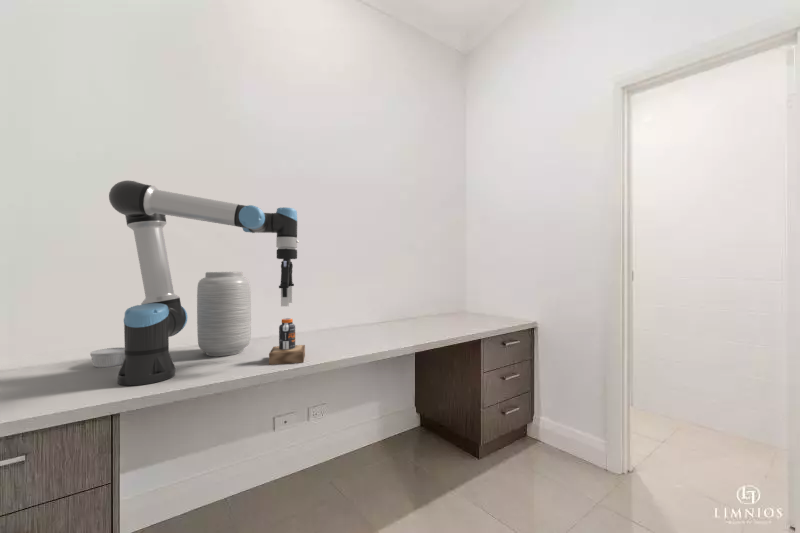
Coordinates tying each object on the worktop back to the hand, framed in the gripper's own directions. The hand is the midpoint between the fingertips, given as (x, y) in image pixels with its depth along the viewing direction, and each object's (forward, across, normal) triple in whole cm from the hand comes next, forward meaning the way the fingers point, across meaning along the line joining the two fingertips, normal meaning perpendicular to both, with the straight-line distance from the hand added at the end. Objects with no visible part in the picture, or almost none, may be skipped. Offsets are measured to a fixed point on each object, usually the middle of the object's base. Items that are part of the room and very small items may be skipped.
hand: (286, 304), depth 140 cm
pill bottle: (+17, 0, 0) cm, 17 cm away
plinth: (+21, 0, 0) cm, 21 cm away
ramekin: (+22, +9, +64) cm, 68 cm away
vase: (+22, +19, +26) cm, 39 cm away
